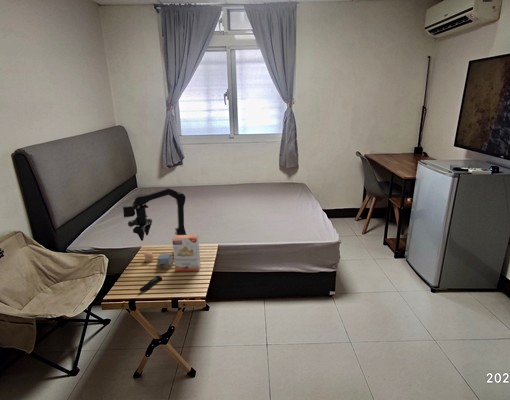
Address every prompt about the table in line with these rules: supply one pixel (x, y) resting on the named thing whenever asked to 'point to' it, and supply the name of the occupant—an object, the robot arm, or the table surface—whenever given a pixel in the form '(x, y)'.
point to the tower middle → (164, 258)
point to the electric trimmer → (150, 283)
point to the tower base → (164, 265)
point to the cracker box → (186, 252)
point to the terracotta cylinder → (148, 257)
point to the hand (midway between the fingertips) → (144, 238)
